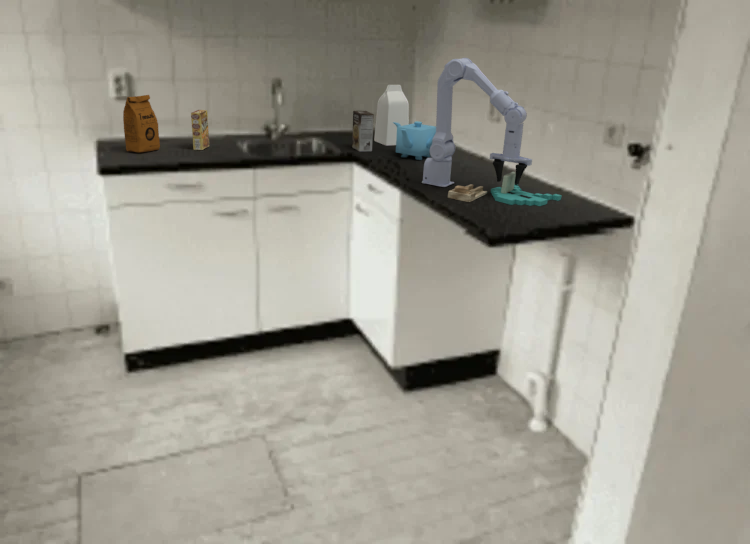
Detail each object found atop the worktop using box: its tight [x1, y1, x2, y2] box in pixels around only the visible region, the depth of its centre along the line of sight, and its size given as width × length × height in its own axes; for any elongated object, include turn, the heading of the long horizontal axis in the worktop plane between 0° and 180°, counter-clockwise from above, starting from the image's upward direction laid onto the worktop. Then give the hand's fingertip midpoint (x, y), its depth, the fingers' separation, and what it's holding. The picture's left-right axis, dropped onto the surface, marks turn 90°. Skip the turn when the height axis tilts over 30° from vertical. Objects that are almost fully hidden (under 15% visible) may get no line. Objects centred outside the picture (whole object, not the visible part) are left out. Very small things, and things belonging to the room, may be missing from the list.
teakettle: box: [393, 121, 436, 161], centre depth 281 cm, size 19×19×15 cm
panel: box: [501, 171, 516, 194], centre depth 230 cm, size 2×8×6 cm, turn 148°
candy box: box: [190, 109, 210, 151], centre depth 278 cm, size 9×4×15 cm, turn 174°
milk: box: [373, 84, 410, 146], centre depth 306 cm, size 12×12×26 cm
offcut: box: [454, 185, 470, 193], centre depth 224 cm, size 4×3×2 cm
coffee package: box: [122, 94, 161, 153], centre depth 267 cm, size 10×12×22 cm
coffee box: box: [351, 110, 375, 152], centre depth 291 cm, size 9×6×16 cm
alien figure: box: [490, 184, 562, 207], centre depth 229 cm, size 20×2×20 cm
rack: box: [447, 183, 488, 203], centre depth 228 cm, size 8×14×2 cm, turn 147°
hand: (507, 182), depth 230 cm, fingers open, 6 cm apart
